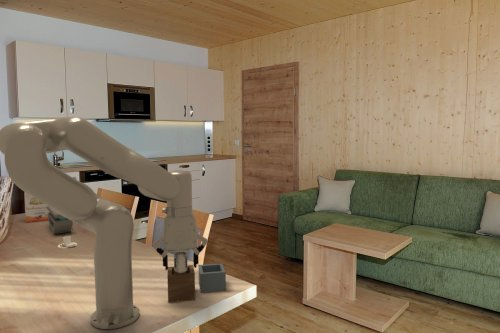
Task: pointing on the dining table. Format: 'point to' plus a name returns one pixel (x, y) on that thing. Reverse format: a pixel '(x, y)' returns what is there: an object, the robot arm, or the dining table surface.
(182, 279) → the brown wooden socket block
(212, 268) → the blue-grey square holder
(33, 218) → the cracker box
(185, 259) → the steel axle
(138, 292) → the dining table surface
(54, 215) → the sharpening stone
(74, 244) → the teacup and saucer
